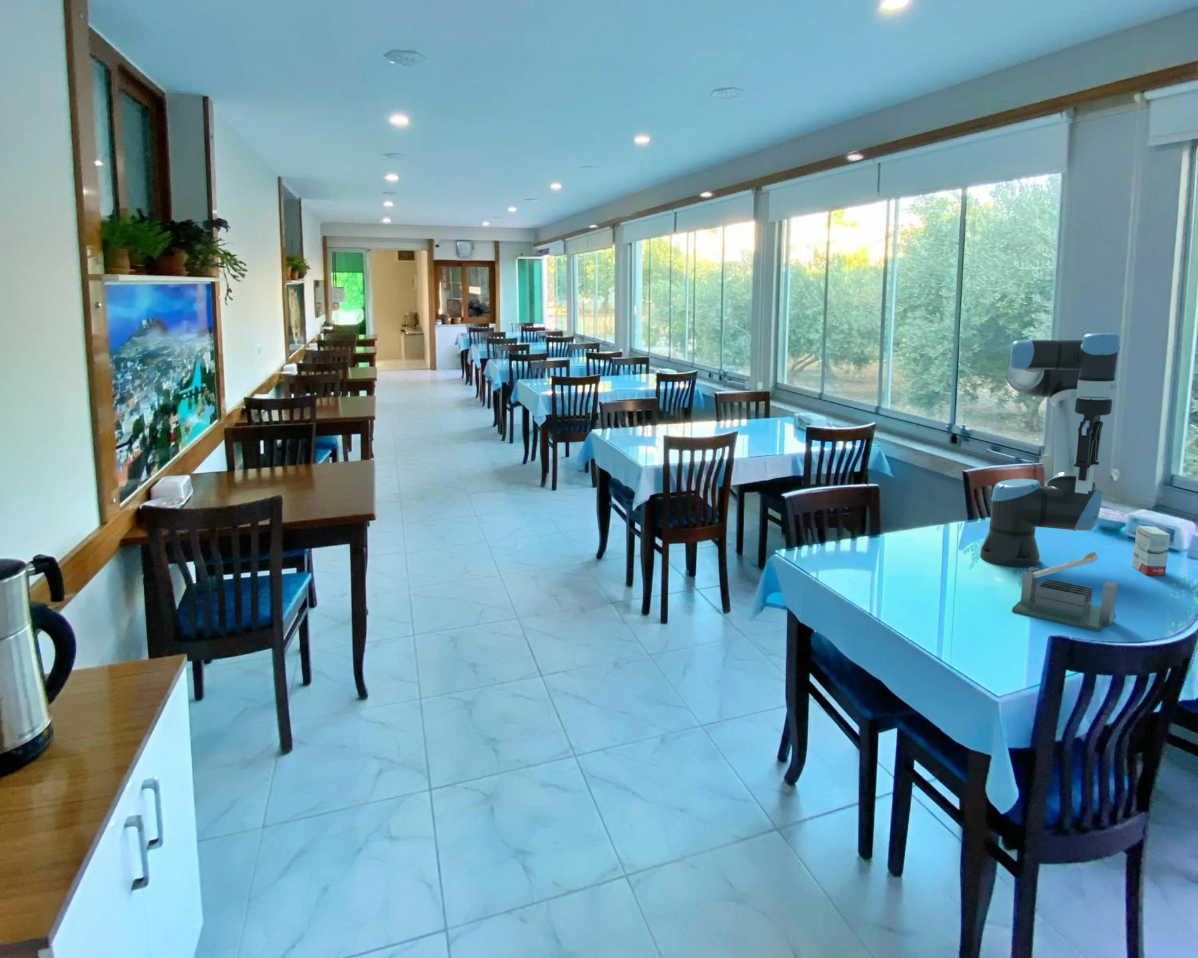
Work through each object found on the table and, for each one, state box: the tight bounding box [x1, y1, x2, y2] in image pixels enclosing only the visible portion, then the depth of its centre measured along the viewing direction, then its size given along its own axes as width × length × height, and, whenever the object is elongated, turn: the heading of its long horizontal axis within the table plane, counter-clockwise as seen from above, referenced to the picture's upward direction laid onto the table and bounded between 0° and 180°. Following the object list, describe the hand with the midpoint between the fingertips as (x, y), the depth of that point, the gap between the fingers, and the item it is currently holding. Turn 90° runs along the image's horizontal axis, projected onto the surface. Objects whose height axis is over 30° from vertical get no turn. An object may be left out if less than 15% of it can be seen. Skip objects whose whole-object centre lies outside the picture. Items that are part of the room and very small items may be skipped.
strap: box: [1031, 551, 1099, 579], centre depth 183 cm, size 16×3×2 cm, turn 43°
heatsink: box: [1011, 566, 1118, 633], centre depth 183 cm, size 19×14×10 cm
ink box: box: [1131, 525, 1171, 577], centre depth 210 cm, size 9×5×12 cm, turn 168°
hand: (1083, 491), depth 192 cm, fingers open, 3 cm apart
